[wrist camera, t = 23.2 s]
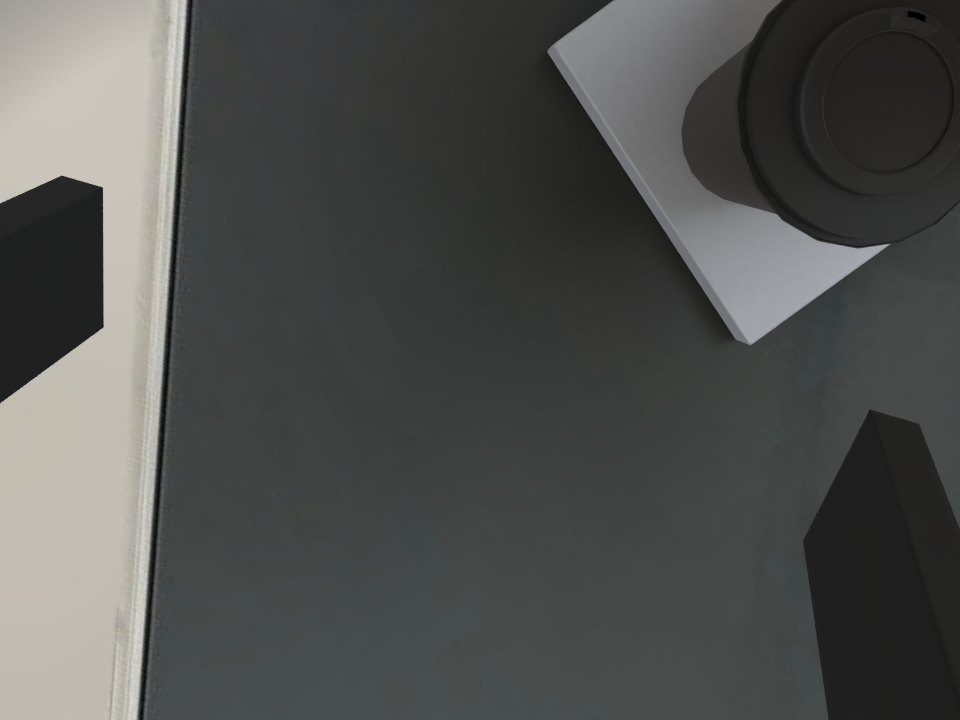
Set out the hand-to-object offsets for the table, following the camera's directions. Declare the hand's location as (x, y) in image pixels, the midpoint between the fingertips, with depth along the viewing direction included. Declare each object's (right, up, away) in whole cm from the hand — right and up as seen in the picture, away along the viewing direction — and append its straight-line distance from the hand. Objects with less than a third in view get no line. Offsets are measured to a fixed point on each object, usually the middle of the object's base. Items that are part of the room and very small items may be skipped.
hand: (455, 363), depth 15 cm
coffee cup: (+11, +9, +20) cm, 24 cm away
